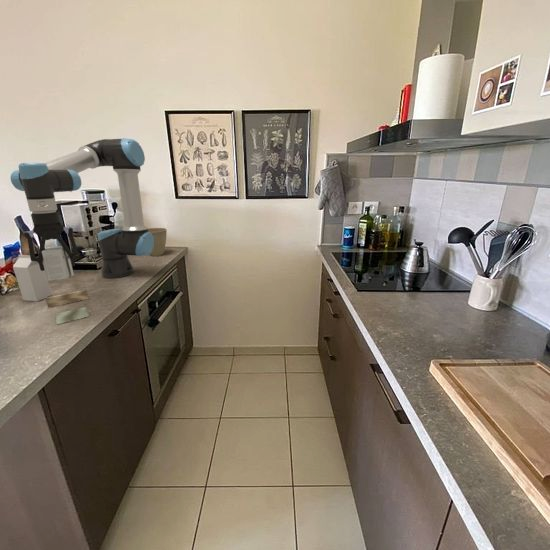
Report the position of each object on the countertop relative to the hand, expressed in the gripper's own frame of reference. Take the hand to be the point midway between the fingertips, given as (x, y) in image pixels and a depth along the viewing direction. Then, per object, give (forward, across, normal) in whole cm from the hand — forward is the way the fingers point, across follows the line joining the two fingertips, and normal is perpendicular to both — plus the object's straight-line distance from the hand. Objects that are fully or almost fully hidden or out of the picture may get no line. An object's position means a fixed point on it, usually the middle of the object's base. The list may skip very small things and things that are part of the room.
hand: (60, 276), depth 108 cm
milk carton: (+16, -10, +28) cm, 33 cm away
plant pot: (+15, +52, +67) cm, 86 cm away
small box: (0, 0, 0) cm, 0 cm away
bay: (+15, 0, +4) cm, 16 cm away
